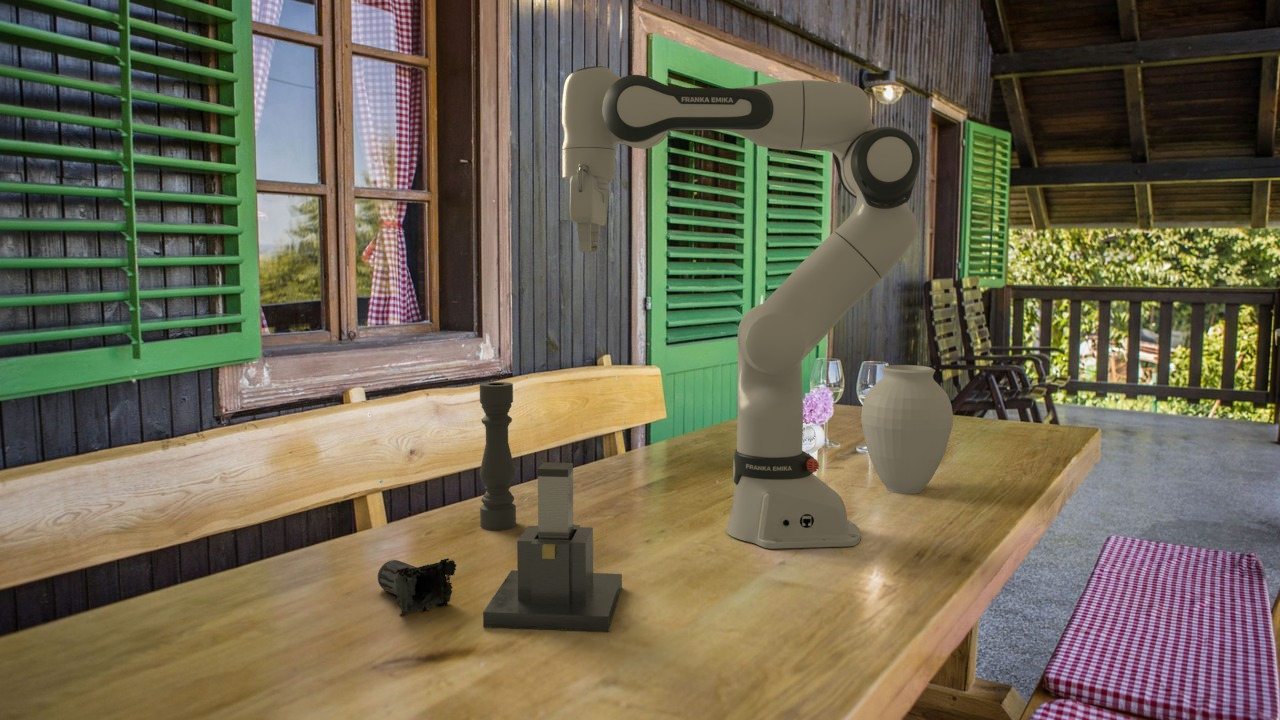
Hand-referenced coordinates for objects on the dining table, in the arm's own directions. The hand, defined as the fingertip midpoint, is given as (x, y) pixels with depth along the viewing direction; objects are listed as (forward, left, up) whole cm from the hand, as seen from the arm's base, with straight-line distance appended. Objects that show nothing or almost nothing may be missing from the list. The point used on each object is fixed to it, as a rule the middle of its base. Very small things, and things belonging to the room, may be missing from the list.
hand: (589, 252), depth 158 cm
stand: (-1, +37, -48) cm, 60 cm away
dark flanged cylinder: (+20, +36, -48) cm, 63 cm away
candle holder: (+16, 0, -48) cm, 51 cm away
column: (-1, +37, -45) cm, 58 cm away
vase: (-60, -33, -48) cm, 84 cm away
